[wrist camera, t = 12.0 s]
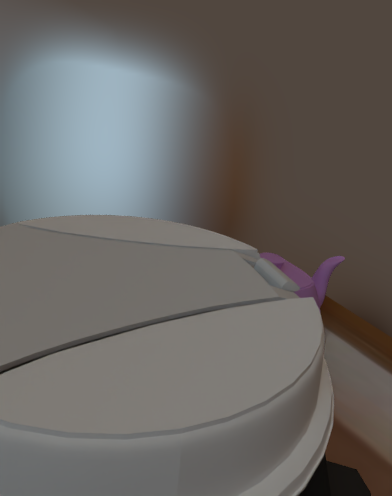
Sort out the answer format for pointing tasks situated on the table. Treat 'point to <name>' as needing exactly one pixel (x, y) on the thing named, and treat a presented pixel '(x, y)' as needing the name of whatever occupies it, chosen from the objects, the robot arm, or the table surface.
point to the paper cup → (154, 363)
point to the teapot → (307, 276)
